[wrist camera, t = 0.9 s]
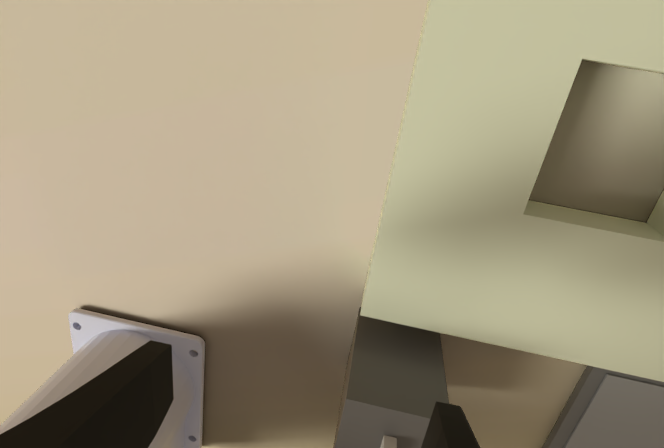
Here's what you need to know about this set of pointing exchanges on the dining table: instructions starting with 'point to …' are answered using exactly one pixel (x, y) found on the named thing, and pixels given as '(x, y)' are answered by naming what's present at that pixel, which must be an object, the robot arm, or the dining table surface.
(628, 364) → the outlet board
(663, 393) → the phone
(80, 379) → the robot arm
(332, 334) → the dining table surface
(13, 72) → the dining table surface
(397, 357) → the charger
